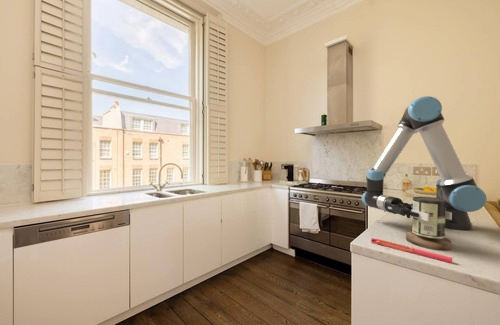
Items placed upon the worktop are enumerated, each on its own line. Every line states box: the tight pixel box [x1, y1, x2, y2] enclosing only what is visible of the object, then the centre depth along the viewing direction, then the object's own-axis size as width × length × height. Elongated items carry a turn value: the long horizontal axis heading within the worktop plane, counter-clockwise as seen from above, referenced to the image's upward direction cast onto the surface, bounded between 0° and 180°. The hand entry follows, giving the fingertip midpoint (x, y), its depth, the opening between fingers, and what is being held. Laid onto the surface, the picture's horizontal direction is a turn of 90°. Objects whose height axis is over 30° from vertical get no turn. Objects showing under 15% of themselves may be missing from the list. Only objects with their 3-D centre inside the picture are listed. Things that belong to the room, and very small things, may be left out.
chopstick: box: [370, 237, 454, 264], centre depth 79 cm, size 24×2×5 cm
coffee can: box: [411, 196, 446, 239], centre depth 87 cm, size 10×10×14 cm
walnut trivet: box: [405, 231, 453, 251], centre depth 87 cm, size 14×14×2 cm
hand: (439, 216), depth 83 cm, fingers closed on coffee can, 10 cm apart
